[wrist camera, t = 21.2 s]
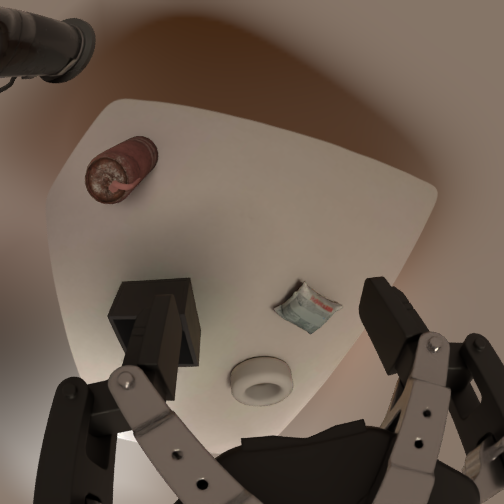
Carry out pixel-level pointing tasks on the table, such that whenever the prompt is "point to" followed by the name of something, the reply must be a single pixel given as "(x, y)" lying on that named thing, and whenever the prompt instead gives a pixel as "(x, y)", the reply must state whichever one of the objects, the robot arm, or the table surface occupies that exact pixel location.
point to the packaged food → (307, 309)
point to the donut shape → (261, 381)
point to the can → (120, 169)
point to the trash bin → (141, 296)
